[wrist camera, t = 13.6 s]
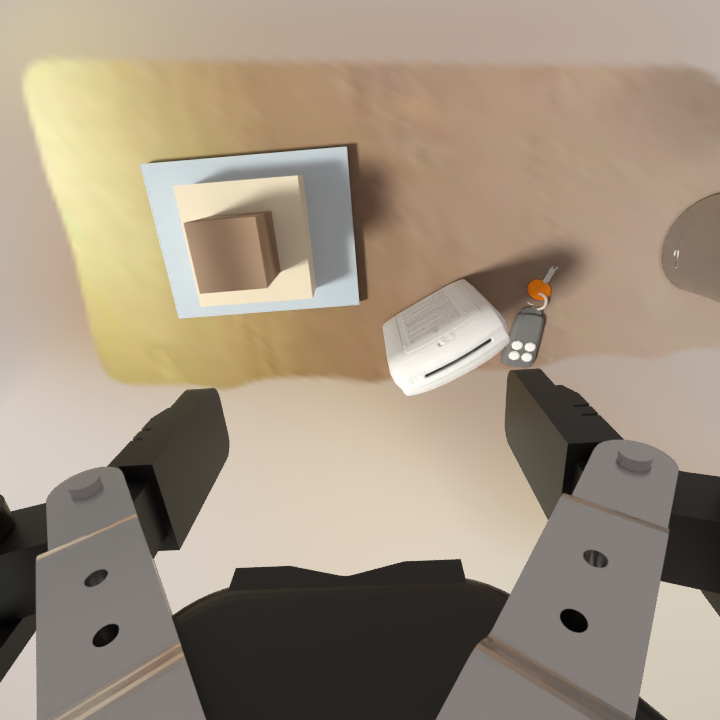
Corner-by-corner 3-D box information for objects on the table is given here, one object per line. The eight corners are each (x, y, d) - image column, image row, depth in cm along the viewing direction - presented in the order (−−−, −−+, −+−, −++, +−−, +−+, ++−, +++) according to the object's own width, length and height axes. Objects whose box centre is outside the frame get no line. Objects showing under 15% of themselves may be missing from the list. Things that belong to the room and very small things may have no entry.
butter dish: (346, 147, 38) (345, 142, 33) (359, 301, 43) (359, 316, 38) (145, 164, 38) (115, 162, 33) (182, 315, 44) (161, 331, 39)
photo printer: (396, 356, 46) (409, 416, 34) (375, 323, 44) (381, 374, 33) (484, 307, 43) (529, 352, 32) (465, 271, 42) (505, 305, 31)
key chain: (530, 364, 47) (535, 370, 45) (497, 360, 46) (501, 366, 45) (570, 243, 42) (577, 245, 40) (532, 238, 41) (538, 239, 40)
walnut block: (271, 210, 35) (255, 216, 29) (280, 271, 37) (267, 288, 31) (210, 216, 35) (183, 222, 30) (223, 276, 37) (199, 293, 31)
